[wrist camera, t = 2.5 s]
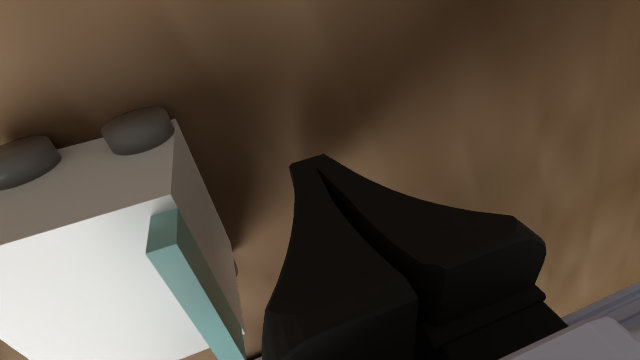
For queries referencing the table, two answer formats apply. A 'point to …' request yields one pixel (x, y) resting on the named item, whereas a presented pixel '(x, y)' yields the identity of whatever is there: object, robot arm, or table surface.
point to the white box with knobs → (114, 248)
